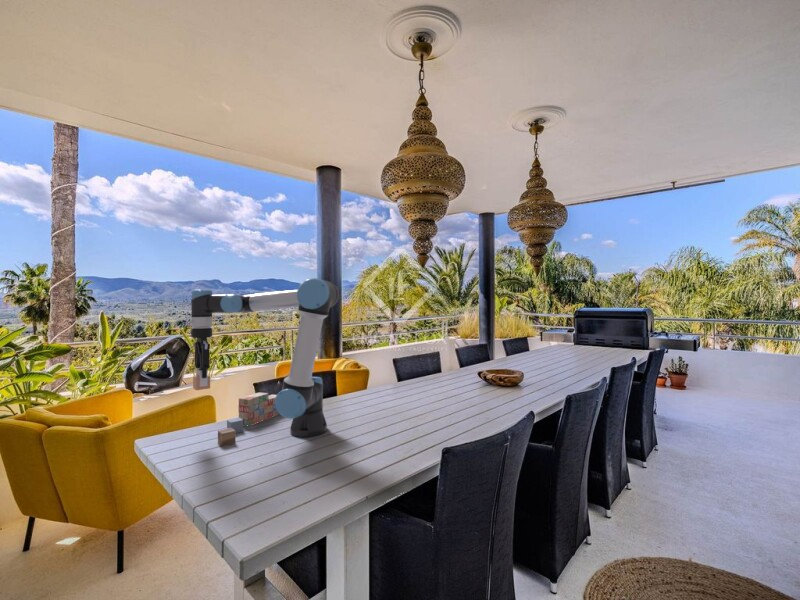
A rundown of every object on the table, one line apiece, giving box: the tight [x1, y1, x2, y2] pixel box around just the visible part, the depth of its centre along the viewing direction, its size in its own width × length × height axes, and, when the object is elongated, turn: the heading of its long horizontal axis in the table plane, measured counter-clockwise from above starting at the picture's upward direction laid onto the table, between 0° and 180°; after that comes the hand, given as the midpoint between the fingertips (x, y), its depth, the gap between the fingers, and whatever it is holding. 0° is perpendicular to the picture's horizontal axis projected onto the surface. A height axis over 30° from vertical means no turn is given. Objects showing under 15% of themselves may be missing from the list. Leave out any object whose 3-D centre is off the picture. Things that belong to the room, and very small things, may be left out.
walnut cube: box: [217, 427, 237, 447], centre depth 140 cm, size 5×5×5 cm
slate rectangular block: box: [226, 417, 244, 434], centre depth 154 cm, size 5×5×5 cm
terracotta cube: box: [192, 374, 211, 391], centre depth 146 cm, size 5×5×5 cm
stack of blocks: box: [238, 391, 280, 427], centre depth 171 cm, size 21×6×12 cm, turn 157°
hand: (201, 384), depth 146 cm, fingers closed on terracotta cube, 5 cm apart
